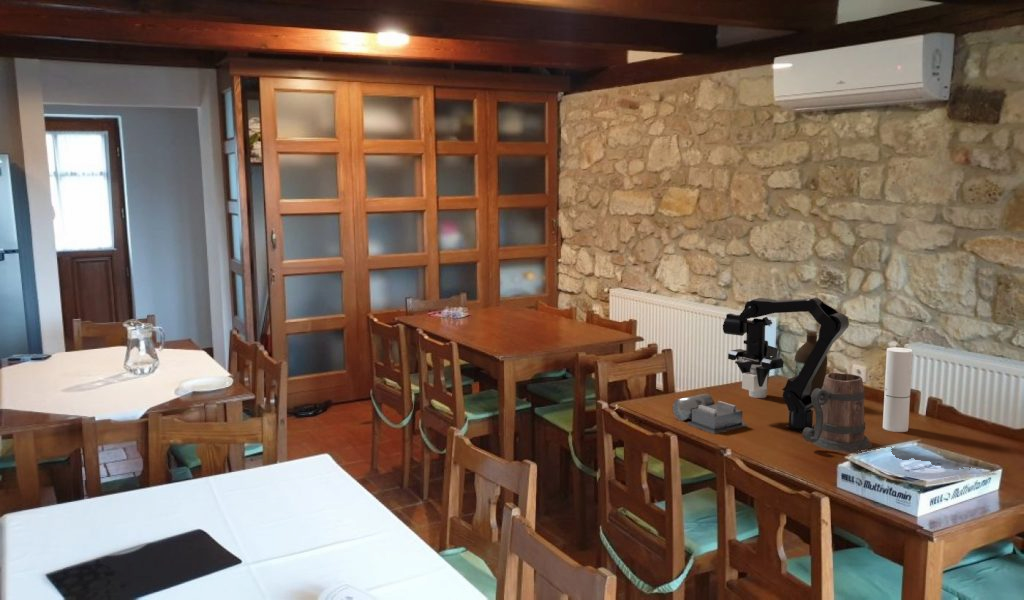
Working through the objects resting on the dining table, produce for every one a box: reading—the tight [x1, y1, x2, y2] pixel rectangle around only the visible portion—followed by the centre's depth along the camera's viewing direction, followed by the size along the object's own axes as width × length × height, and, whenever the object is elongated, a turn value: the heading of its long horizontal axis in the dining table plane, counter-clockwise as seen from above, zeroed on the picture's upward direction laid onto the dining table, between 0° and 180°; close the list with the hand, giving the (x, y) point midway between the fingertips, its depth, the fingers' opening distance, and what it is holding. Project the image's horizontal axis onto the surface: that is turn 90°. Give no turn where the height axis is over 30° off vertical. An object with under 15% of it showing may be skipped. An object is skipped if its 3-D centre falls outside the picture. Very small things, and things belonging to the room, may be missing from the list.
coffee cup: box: [748, 356, 771, 399], centre depth 288 cm, size 8×8×15 cm
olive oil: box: [794, 330, 828, 395], centre depth 279 cm, size 11×11×25 cm
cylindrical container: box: [882, 346, 914, 433], centre depth 248 cm, size 7×7×25 cm
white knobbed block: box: [741, 368, 768, 392], centre depth 260 cm, size 5×6×6 cm
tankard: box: [802, 372, 872, 453], centre depth 235 cm, size 24×17×20 cm
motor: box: [672, 393, 748, 435], centre depth 259 cm, size 20×14×7 cm
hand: (754, 384), depth 260 cm, fingers closed on white knobbed block, 5 cm apart
